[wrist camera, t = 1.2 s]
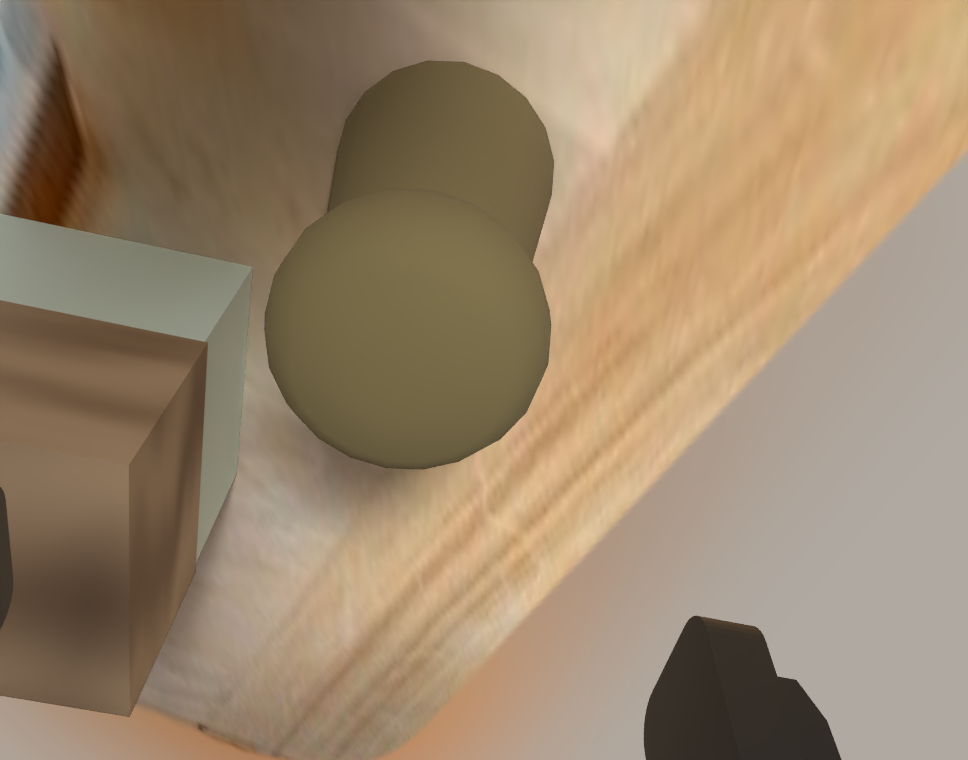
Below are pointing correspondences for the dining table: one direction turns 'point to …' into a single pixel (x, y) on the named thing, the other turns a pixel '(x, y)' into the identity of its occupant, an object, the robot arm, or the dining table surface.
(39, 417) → the tower top block
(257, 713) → the dining table surface
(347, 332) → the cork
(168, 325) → the tower base block
